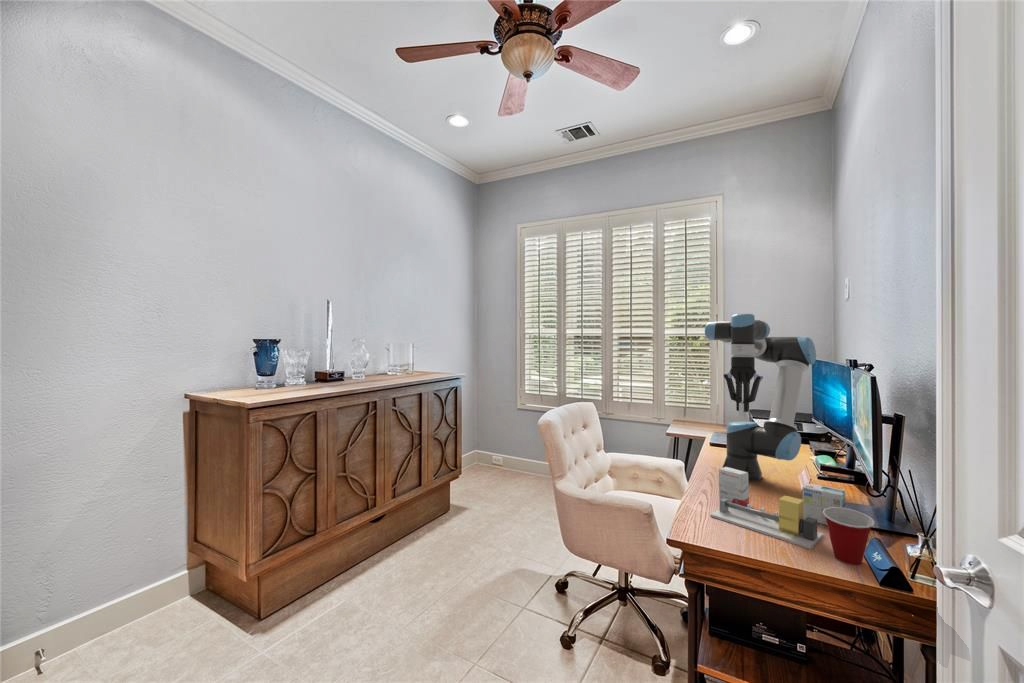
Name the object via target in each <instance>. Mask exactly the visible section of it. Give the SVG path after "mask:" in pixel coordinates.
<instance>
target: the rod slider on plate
mask: <svg viewBox="0 0 1024 683" xmlns="http://www.w3.org/2000/svg"><path fill="white" fill-rule="evenodd" d="M711 516H712V517H711ZM710 517H711V518H714V519H717V518H718V519H717V520H721V521H724V522H727V523H729V524H732V525H736V526H739V527H742V528H744V529H748V530H751V531H755V532H757V533H761V534H763V535H766V536H769V537H773V538H775V539H779V540H782V541H785V542H787V543H791V544H793V545H798V546H800V547H803V548H806V549H809V550H812V549H813V548H814V546H816V545H817V544H818V543H819V542H820V540H822V538H823V537H824V533H822V532H819V531H818V523H817V519H814V518H810V517H807V518H806V519H801V520H800V522H799V532H800V533H801V534H799V535H795V534H792V533H789V532H786V531H782V530H779V511H777V510H775V511H774V512H773V514H772V513H768V512H765V507H761V508H760V509H759V510H758V509H755V508H752V504H751V503H749V504H747V506H746V507H745V506H741V505H738V504H734V503H731V502H728V499H725V498H723V499H721V500H719V508H718V509H717V510H715V511H713V512H711V513H710Z"/></svg>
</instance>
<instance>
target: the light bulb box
mask: <svg viewBox="0 0 1024 683" xmlns="http://www.w3.org/2000/svg"><path fill="white" fill-rule="evenodd" d="M802 500H804V519H806V518H807V517H810V518H814V519H817V524H822V525H825V526H828V524H827V521H826V518H825V516H824V514H823V510H824V509H825V508H828V507H840V508H846V490H845V489H843V488H842V489H841V488H836V487H831V486H827V485H825V486H824V485H820V484H814V483H811V482H805V484H804V485H803V486H802Z"/></svg>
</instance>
